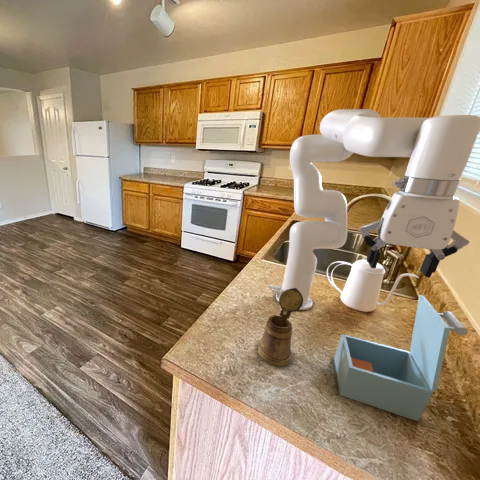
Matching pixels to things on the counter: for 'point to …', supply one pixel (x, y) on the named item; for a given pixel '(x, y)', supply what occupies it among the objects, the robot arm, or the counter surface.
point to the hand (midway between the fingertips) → (397, 269)
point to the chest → (382, 377)
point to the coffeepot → (364, 286)
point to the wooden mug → (280, 330)
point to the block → (362, 364)
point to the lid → (432, 339)
